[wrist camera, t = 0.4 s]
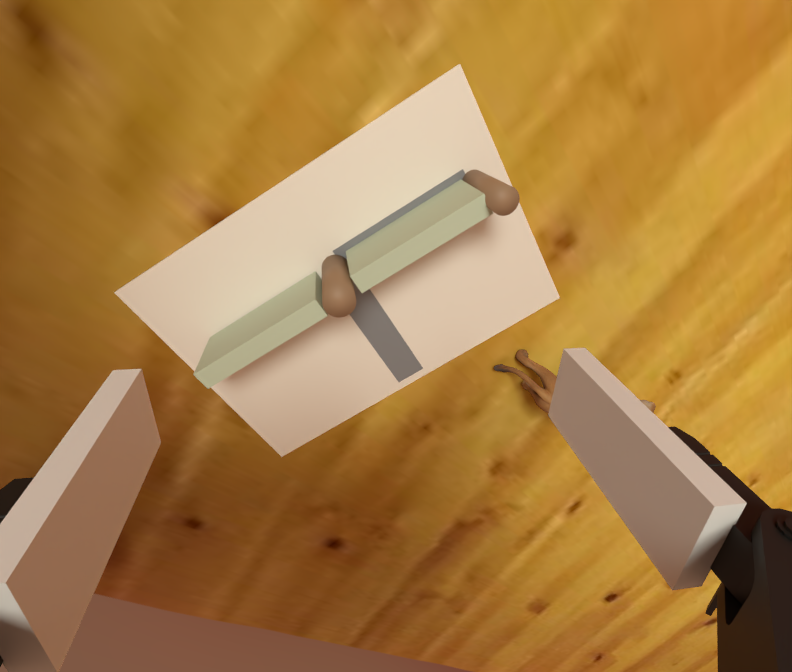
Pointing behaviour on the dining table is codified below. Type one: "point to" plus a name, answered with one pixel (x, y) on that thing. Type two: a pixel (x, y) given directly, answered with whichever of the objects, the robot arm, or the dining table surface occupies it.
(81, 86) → the dining table surface
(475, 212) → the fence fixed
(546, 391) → the lion figurine
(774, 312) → the dining table surface
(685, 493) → the robot arm
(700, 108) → the dining table surface
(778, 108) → the dining table surface
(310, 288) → the fence panel
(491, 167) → the card
